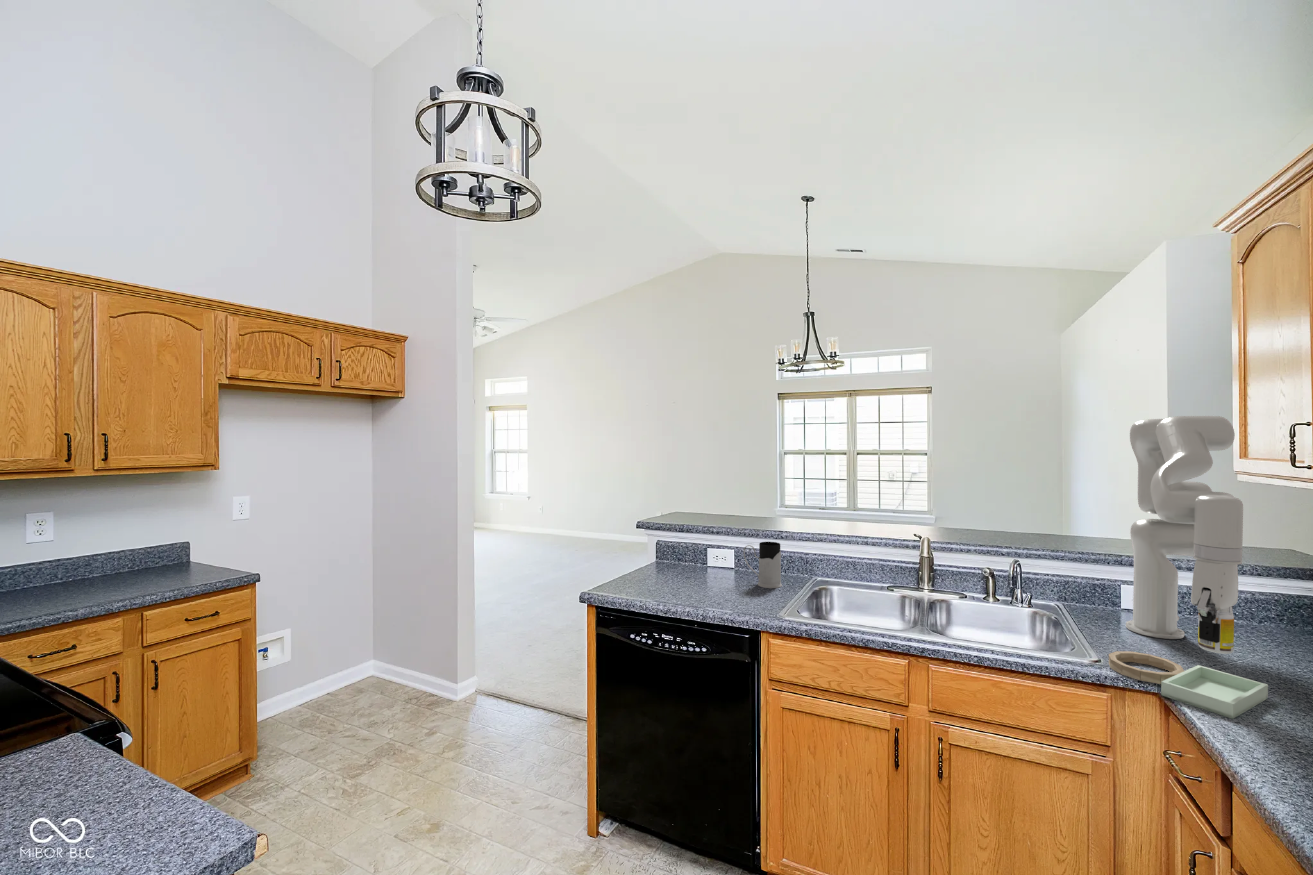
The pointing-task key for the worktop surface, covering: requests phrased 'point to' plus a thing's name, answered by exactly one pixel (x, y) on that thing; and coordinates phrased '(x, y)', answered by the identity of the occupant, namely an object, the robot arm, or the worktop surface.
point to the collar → (1142, 658)
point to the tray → (1215, 691)
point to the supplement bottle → (1221, 634)
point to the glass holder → (768, 564)
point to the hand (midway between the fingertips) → (1215, 637)
